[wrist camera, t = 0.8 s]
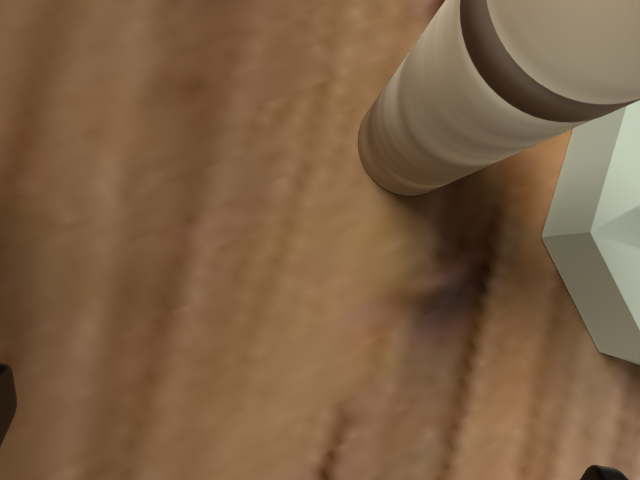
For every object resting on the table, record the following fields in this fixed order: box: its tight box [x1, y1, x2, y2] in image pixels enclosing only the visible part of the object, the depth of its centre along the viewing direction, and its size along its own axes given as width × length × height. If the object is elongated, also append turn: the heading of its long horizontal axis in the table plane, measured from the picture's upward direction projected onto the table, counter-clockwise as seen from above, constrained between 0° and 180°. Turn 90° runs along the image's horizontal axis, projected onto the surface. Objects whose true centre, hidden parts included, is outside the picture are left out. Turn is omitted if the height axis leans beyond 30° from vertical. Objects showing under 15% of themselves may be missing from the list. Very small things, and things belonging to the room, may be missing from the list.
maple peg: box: [358, 0, 640, 196], centre depth 16 cm, size 4×4×14 cm
